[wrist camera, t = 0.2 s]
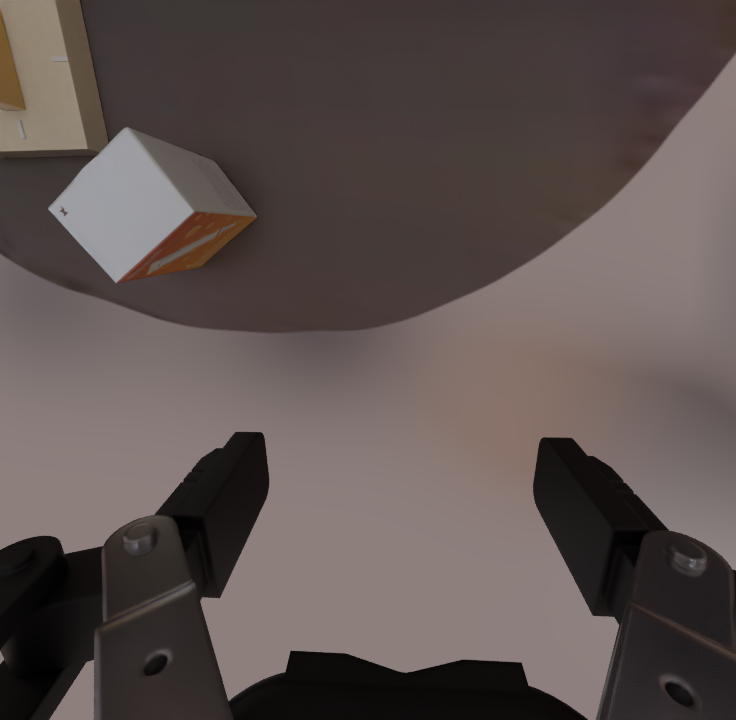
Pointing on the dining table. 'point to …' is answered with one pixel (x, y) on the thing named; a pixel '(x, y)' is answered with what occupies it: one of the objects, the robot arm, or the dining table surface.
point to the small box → (150, 208)
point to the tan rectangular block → (8, 76)
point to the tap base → (51, 82)
